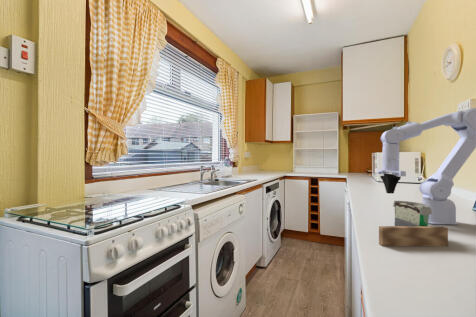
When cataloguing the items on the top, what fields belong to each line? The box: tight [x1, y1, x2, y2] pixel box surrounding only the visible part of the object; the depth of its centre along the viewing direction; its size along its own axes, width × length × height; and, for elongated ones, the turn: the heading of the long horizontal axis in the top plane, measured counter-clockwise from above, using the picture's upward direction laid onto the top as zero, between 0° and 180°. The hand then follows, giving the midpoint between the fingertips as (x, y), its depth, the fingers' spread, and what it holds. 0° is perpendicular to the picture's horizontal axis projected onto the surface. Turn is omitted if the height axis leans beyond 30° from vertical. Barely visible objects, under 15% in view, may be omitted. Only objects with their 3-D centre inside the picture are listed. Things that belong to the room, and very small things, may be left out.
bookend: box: [394, 217, 419, 226], centre depth 70 cm, size 6×10×5 cm, turn 0°
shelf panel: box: [378, 225, 449, 247], centre depth 64 cm, size 18×2×5 cm, turn 90°
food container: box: [392, 200, 432, 226], centre depth 72 cm, size 12×6×10 cm, turn 0°
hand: (390, 193), depth 93 cm, fingers closed
